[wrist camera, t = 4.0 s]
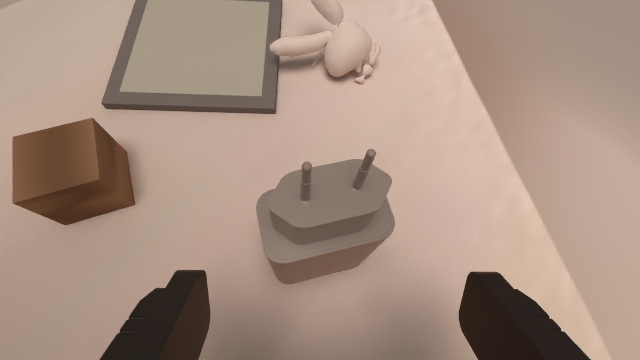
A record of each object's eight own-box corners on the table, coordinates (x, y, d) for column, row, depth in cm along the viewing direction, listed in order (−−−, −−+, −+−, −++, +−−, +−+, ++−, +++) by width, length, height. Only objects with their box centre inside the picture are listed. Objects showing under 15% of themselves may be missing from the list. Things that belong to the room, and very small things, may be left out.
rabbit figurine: (357, 108, 24) (264, 44, 21) (342, 102, 28) (261, 48, 25) (402, 36, 23) (310, -40, 20) (381, 40, 27) (301, -24, 24)
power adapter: (268, 236, 20) (230, 128, 9) (351, 216, 21) (411, 96, 10) (278, 287, 19) (249, 236, 8) (365, 264, 19) (453, 189, 8)
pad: (106, 108, 23) (100, 102, 22) (142, -6, 28) (139, -13, 27) (275, 113, 23) (274, 108, 23) (281, 2, 28) (281, -6, 28)
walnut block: (66, 225, 19) (12, 203, 16) (62, 169, 21) (12, 136, 17) (135, 205, 20) (99, 179, 16) (127, 152, 22) (92, 117, 18)
